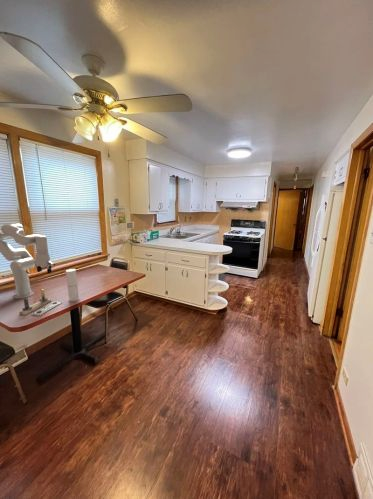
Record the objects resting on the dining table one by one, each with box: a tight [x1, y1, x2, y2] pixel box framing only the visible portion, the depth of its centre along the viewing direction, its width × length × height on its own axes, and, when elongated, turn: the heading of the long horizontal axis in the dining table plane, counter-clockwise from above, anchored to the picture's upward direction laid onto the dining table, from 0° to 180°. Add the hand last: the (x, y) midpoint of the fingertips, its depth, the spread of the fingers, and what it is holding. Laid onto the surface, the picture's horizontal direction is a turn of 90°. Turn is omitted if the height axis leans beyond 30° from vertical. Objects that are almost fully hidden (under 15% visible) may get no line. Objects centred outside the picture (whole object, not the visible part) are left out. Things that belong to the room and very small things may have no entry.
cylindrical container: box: [65, 268, 80, 302], centre depth 169 cm, size 7×7×25 cm
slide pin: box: [39, 288, 49, 301], centre depth 163 cm, size 5×3×9 cm, turn 79°
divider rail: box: [18, 297, 52, 316], centre depth 157 cm, size 5×22×10 cm, turn 169°
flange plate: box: [31, 300, 63, 317], centre depth 156 cm, size 7×20×1 cm, turn 169°
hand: (44, 272), depth 165 cm, fingers open, 9 cm apart
